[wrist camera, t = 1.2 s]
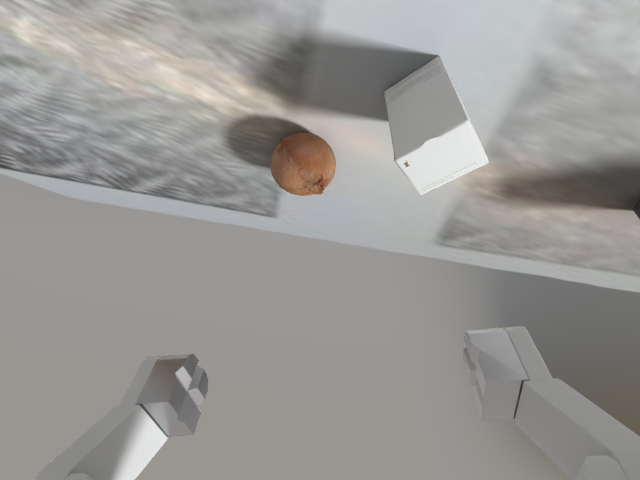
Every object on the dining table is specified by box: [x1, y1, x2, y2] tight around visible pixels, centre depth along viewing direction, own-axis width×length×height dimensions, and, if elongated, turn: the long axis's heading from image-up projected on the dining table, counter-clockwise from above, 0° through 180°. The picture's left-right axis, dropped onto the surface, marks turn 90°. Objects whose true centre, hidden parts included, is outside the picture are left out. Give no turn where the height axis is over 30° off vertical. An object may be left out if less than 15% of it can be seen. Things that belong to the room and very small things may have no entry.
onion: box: [271, 133, 336, 196], centre depth 54 cm, size 10×9×10 cm
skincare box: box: [384, 56, 489, 195], centre depth 44 cm, size 8×7×16 cm
